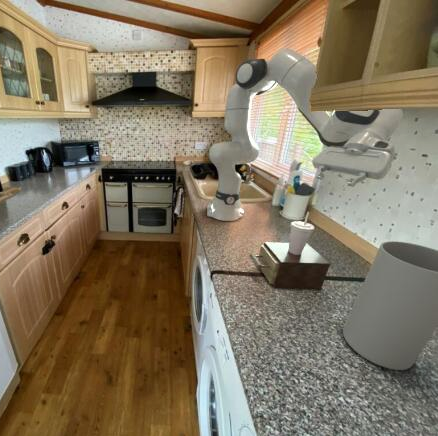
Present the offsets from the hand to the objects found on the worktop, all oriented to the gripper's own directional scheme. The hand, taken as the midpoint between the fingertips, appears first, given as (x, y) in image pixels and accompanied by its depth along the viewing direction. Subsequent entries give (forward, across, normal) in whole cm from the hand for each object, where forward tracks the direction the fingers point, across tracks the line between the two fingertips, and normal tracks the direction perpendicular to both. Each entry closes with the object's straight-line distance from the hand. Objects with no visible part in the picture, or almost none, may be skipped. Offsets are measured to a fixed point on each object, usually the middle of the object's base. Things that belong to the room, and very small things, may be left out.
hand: (333, 181), depth 78 cm
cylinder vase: (+37, +29, +7) cm, 48 cm away
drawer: (+34, 0, +9) cm, 35 cm away
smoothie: (+25, +2, +5) cm, 26 cm away
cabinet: (+32, +2, +12) cm, 34 cm away
